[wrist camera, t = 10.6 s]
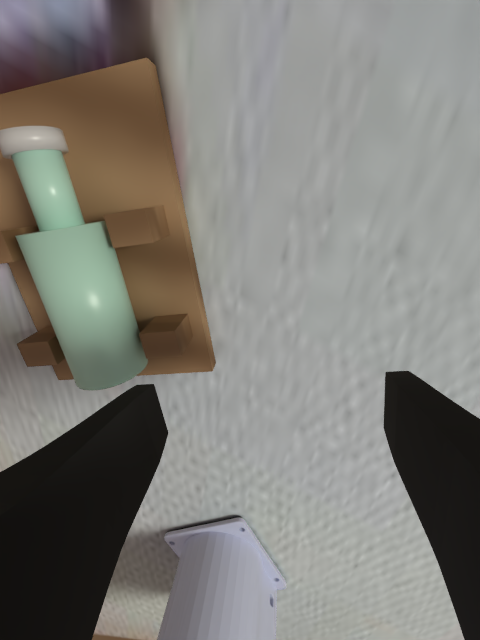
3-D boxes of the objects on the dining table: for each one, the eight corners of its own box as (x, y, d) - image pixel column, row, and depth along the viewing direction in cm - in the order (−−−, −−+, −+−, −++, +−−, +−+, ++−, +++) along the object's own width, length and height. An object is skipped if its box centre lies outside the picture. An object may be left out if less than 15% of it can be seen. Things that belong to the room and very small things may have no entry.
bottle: (147, 346, 20) (148, 376, 17) (82, 363, 19) (69, 398, 16) (85, 137, 16) (70, 116, 12) (-3, 147, 15) (-48, 128, 11)
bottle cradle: (215, 362, 21) (203, 394, 17) (67, 372, 23) (33, 402, 19) (155, 65, 15) (120, 33, 11) (-40, 113, 17) (-115, 96, 13)
